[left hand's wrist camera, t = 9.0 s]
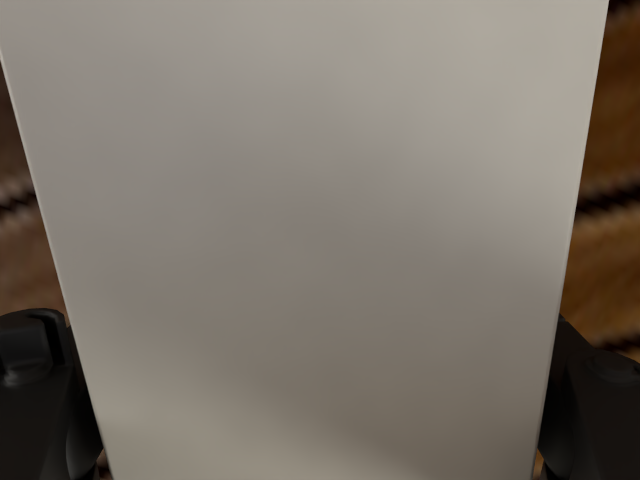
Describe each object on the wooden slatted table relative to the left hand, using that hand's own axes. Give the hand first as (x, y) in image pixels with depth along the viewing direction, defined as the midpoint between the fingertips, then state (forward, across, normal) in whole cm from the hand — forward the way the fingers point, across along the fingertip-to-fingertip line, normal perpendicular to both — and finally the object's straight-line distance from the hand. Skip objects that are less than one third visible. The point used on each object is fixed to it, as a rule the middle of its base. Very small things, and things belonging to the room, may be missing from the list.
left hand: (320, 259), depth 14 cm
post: (+1, +1, -19) cm, 19 cm away
